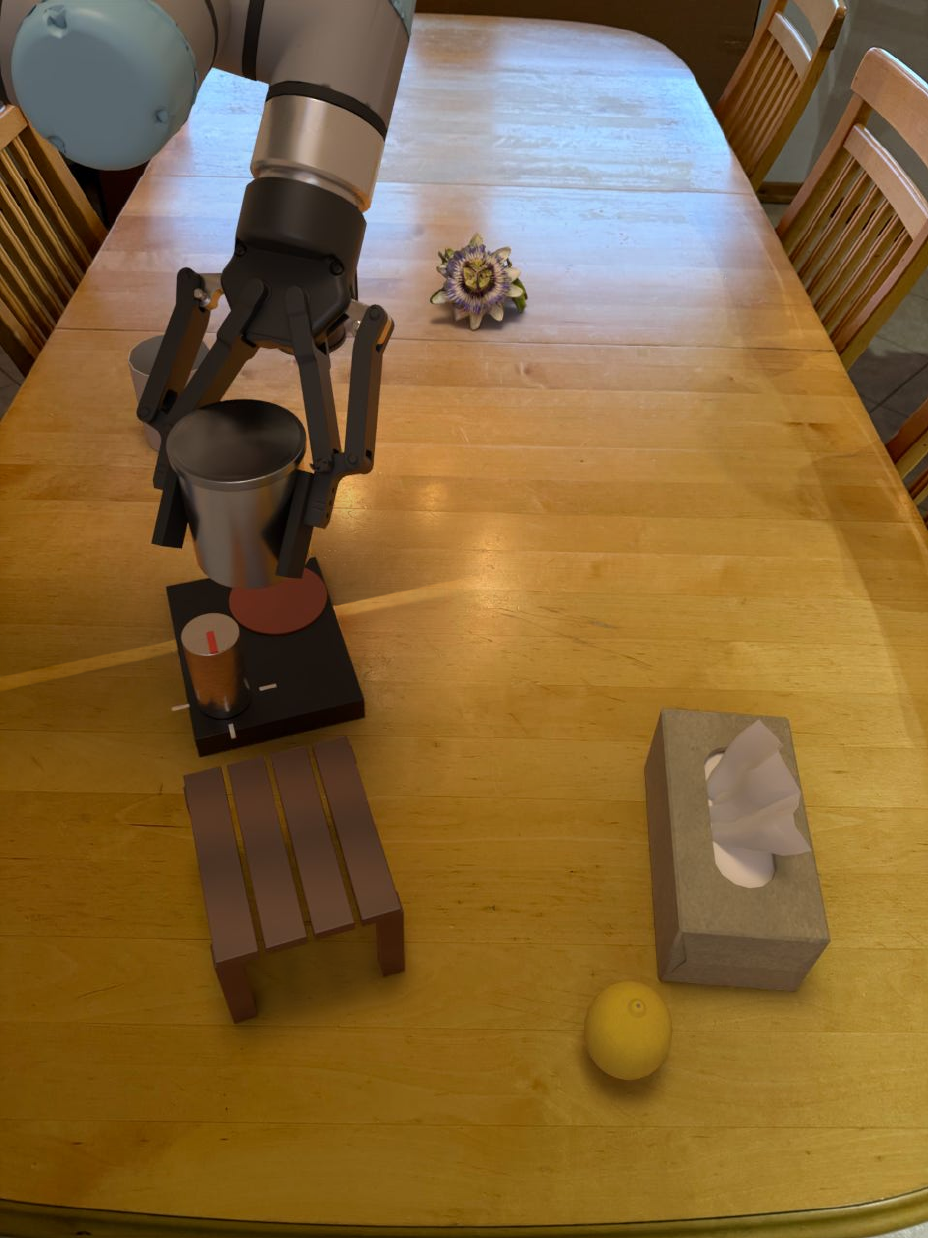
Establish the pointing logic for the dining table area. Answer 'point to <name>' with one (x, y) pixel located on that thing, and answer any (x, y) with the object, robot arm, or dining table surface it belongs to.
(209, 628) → the hob knob
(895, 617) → the dining table surface
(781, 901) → the tissue box
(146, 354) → the cup
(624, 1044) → the lemon
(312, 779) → the drying rack
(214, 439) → the pot
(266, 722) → the hob
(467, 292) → the passion flower
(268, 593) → the burner
